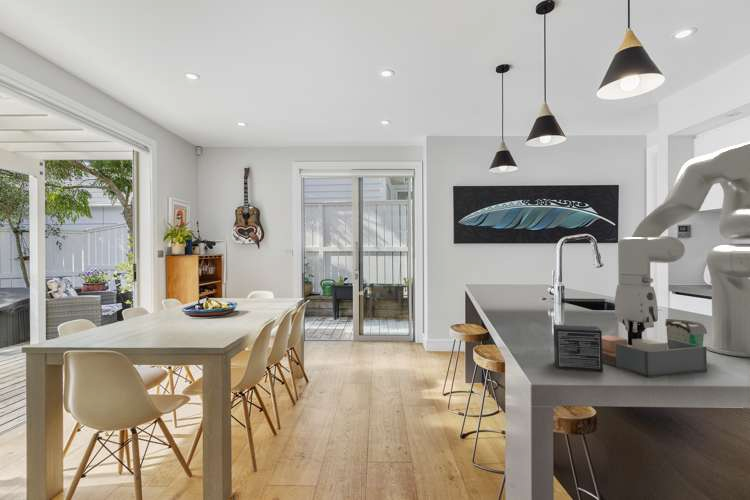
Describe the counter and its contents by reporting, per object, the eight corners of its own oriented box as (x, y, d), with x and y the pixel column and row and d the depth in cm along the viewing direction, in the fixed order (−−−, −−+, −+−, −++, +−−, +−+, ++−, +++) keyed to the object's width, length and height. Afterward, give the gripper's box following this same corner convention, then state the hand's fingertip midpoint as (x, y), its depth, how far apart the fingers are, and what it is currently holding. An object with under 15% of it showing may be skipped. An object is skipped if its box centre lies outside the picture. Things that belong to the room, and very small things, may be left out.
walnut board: (628, 348, 114) (628, 340, 114) (670, 360, 101) (670, 351, 101) (578, 353, 110) (577, 344, 110) (615, 366, 97) (615, 356, 97)
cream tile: (648, 348, 105) (648, 338, 105) (667, 354, 99) (667, 342, 99) (632, 350, 103) (632, 339, 103) (650, 355, 98) (650, 344, 98)
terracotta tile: (610, 345, 109) (610, 335, 109) (627, 350, 103) (626, 339, 103) (594, 346, 107) (594, 336, 107) (610, 351, 102) (610, 340, 102)
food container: (719, 366, 96) (718, 327, 96) (692, 365, 97) (691, 327, 97) (689, 353, 108) (689, 319, 108) (665, 352, 110) (664, 318, 110)
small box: (597, 365, 99) (597, 325, 99) (603, 372, 93) (603, 330, 93) (553, 361, 102) (553, 323, 102) (556, 368, 96) (556, 328, 96)
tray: (671, 361, 101) (670, 339, 101) (706, 371, 93) (706, 347, 93) (616, 366, 97) (615, 343, 97) (647, 377, 88) (647, 352, 89)
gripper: (670, 282, 100) (671, 351, 100) (622, 278, 114) (623, 338, 114) (647, 283, 98) (648, 353, 98) (601, 279, 113) (602, 340, 113)
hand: (634, 345), depth 106 cm, fingers closed
